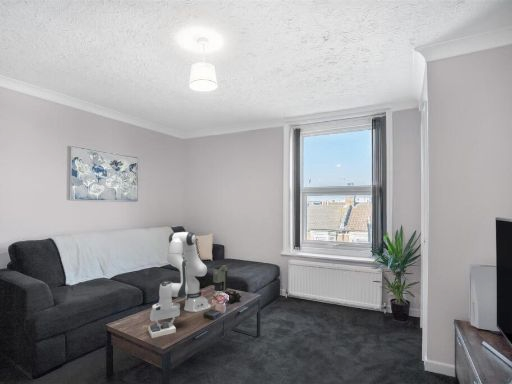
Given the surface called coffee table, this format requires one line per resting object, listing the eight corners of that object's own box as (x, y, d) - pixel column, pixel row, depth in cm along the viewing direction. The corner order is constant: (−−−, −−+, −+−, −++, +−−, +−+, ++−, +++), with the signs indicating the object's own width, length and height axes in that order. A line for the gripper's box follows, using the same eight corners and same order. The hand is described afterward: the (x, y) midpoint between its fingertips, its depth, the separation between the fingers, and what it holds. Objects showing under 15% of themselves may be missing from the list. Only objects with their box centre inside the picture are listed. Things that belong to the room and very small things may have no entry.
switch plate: (171, 326, 213) (171, 320, 213) (175, 332, 203) (175, 326, 203) (148, 331, 205) (148, 325, 205) (151, 338, 194) (152, 332, 194)
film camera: (220, 304, 260) (220, 292, 260) (223, 299, 272) (223, 288, 272) (239, 305, 257) (239, 293, 258) (242, 300, 270) (242, 289, 270)
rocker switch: (166, 329, 208) (167, 320, 208) (168, 331, 204) (168, 322, 204) (161, 330, 205) (161, 322, 206) (162, 332, 202) (162, 324, 202)
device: (218, 298, 275) (218, 266, 276) (212, 296, 279) (212, 265, 280) (227, 294, 286) (228, 263, 287) (222, 292, 291) (222, 262, 291)
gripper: (178, 300, 213) (178, 319, 213) (149, 306, 203) (149, 326, 202) (181, 303, 208) (181, 323, 208) (151, 309, 197) (151, 329, 197)
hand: (165, 324), depth 205 cm, fingers open, 8 cm apart
